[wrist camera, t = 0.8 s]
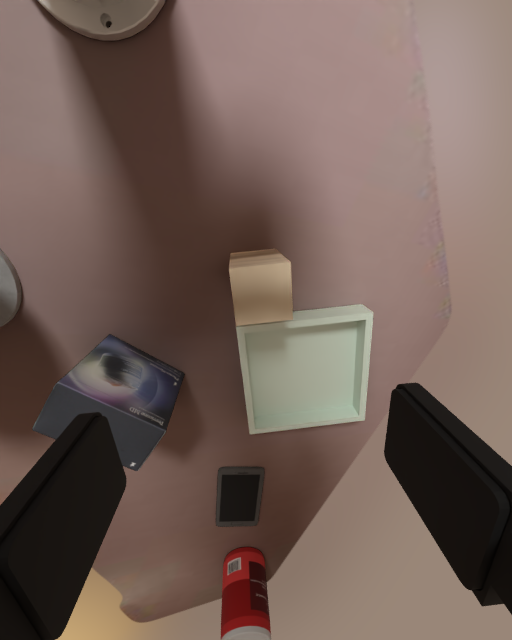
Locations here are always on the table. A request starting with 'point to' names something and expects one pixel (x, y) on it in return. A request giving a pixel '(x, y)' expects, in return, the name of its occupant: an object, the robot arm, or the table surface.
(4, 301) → the mate gourd
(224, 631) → the canned food
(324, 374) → the tray
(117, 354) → the small box
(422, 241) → the table surface
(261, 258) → the block
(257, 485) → the cell phone
